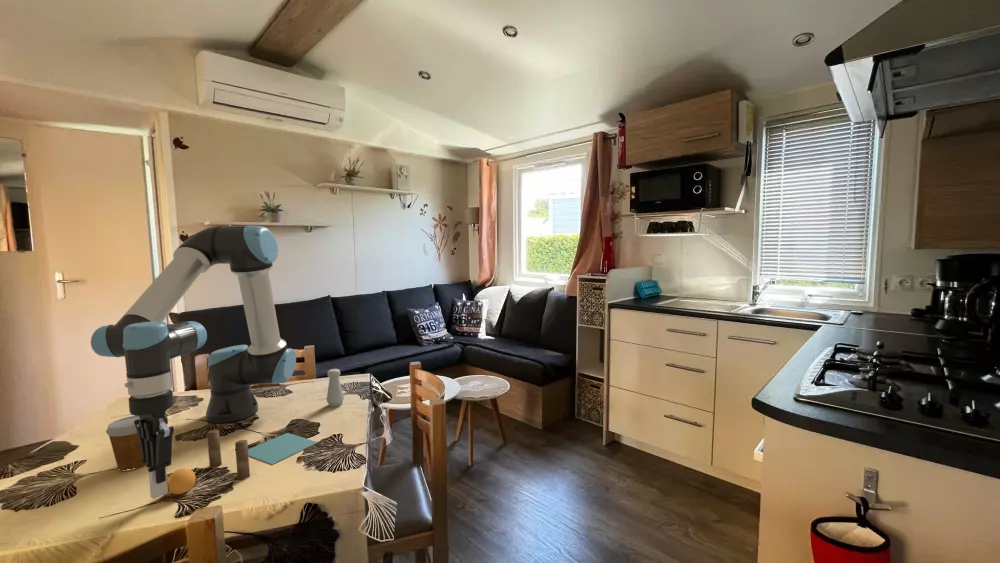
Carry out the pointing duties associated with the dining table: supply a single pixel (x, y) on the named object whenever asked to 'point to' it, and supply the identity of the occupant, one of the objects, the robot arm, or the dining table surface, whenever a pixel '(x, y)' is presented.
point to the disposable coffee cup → (125, 443)
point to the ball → (181, 481)
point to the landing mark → (280, 448)
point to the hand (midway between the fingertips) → (159, 494)
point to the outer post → (242, 459)
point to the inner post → (214, 448)
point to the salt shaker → (334, 389)
